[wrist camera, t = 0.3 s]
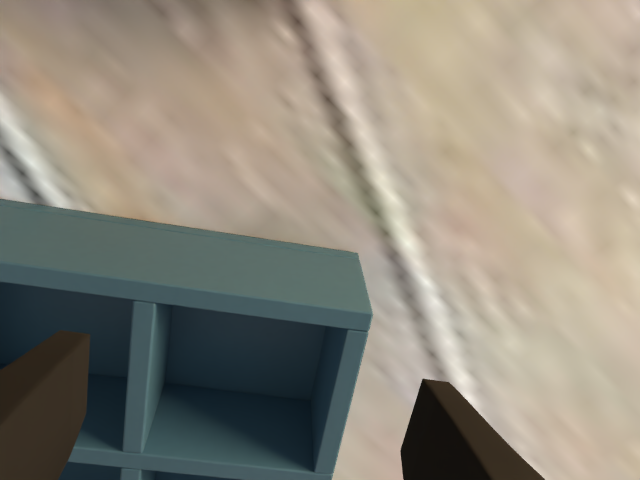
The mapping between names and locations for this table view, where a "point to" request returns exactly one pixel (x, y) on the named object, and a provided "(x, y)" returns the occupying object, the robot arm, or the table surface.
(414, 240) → the table surface
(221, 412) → the carrier
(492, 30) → the table surface
